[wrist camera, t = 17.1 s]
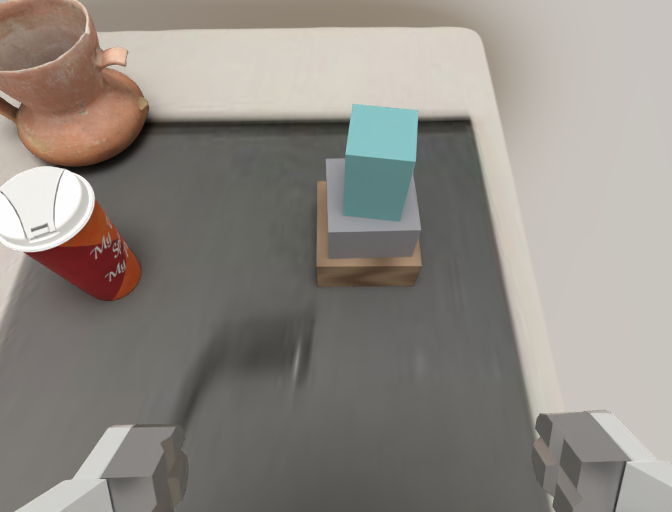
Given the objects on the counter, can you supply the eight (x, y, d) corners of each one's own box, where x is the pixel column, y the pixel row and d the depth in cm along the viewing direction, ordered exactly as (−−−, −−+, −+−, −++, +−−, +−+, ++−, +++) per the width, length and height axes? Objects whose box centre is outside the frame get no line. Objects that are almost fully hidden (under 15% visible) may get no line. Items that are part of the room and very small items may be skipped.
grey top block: (328, 259, 42) (328, 232, 38) (326, 190, 46) (325, 159, 42) (411, 256, 43) (421, 230, 38) (403, 188, 46) (410, 157, 42)
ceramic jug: (170, 88, 59) (124, -20, 47) (156, 175, 52) (97, 75, 40) (34, 96, 59) (-49, -12, 46) (2, 183, 52) (-106, 85, 39)
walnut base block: (317, 287, 46) (316, 266, 42) (318, 207, 51) (317, 181, 47) (413, 287, 46) (421, 265, 42) (405, 207, 51) (412, 180, 47)
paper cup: (159, 293, 46) (94, 221, 33) (82, 322, 44) (-15, 258, 32) (142, 233, 49) (77, 147, 36) (70, 258, 47) (-23, 177, 35)
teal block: (342, 215, 39) (345, 154, 32) (348, 170, 41) (352, 104, 34) (400, 221, 38) (415, 161, 31) (402, 175, 41) (418, 110, 34)
